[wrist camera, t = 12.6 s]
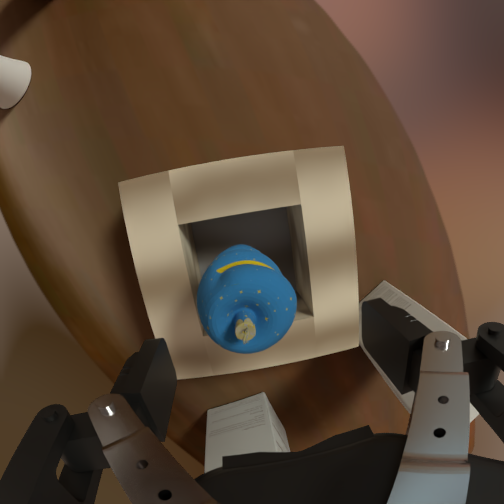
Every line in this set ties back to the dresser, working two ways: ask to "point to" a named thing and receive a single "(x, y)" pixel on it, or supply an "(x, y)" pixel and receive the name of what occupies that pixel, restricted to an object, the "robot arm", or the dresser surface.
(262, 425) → the supplement box
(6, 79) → the cosmetic bottle
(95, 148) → the dresser surface
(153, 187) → the socket block
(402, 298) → the skincare box
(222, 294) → the ornament
